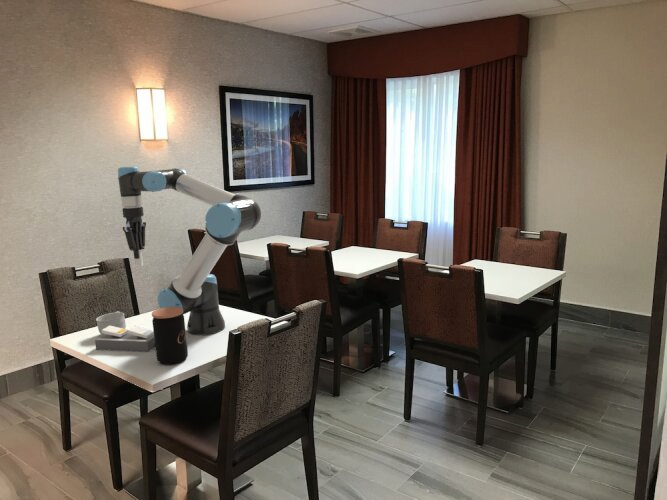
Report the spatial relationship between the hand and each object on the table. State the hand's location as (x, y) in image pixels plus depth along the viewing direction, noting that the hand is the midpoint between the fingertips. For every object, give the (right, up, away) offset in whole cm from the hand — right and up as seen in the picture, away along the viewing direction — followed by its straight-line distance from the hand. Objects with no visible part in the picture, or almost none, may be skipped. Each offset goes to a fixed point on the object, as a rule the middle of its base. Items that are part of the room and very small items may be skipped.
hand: (139, 266), depth 215 cm
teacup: (-13, -28, +9) cm, 32 cm away
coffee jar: (+20, -33, -22) cm, 44 cm away
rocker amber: (-7, -25, -7) cm, 27 cm away
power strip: (+1, -30, -7) cm, 31 cm away
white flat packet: (+4, -25, -9) cm, 27 cm away
